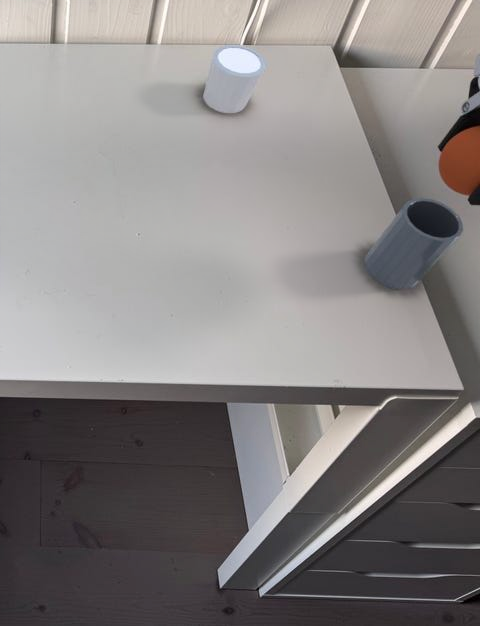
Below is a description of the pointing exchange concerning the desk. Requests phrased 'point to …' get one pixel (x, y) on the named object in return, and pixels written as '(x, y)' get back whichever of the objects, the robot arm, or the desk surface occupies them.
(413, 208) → the cup
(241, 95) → the white cylinder
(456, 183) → the ball
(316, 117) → the desk surface
